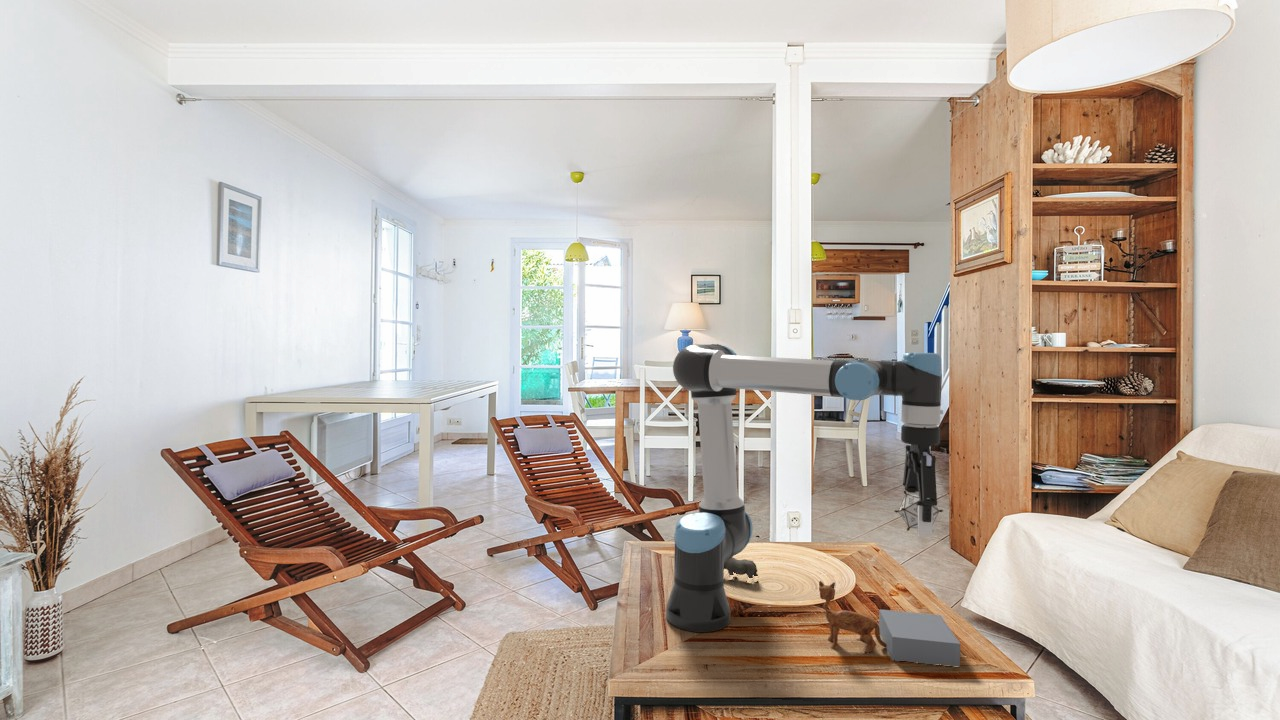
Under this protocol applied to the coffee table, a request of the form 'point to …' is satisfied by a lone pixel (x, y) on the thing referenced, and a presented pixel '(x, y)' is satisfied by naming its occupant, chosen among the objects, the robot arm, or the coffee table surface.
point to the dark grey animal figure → (741, 567)
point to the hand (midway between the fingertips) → (918, 528)
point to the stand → (918, 638)
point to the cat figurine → (848, 621)
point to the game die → (913, 510)
